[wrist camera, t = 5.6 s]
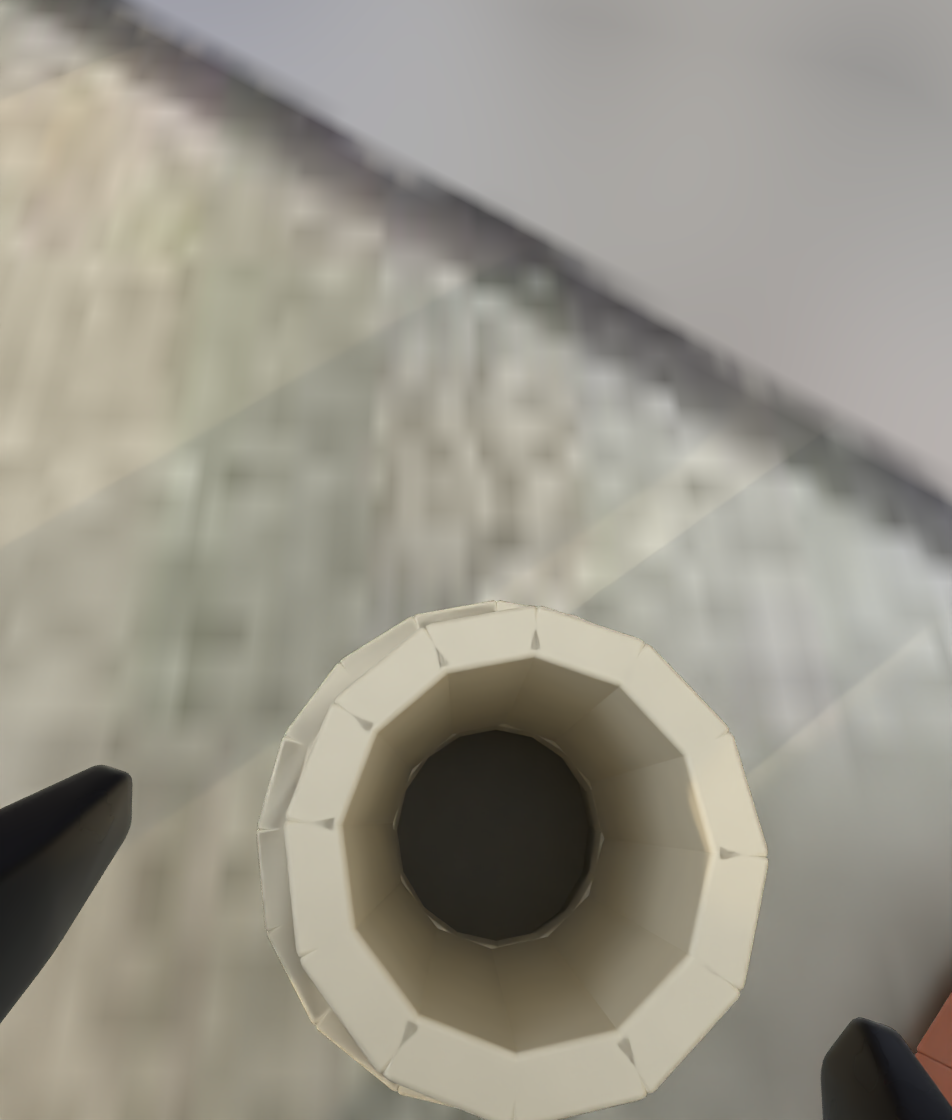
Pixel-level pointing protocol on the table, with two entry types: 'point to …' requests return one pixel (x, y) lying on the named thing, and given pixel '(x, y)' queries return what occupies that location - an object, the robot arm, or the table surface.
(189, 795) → the table surface
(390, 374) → the table surface
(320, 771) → the bottle
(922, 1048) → the bowl
